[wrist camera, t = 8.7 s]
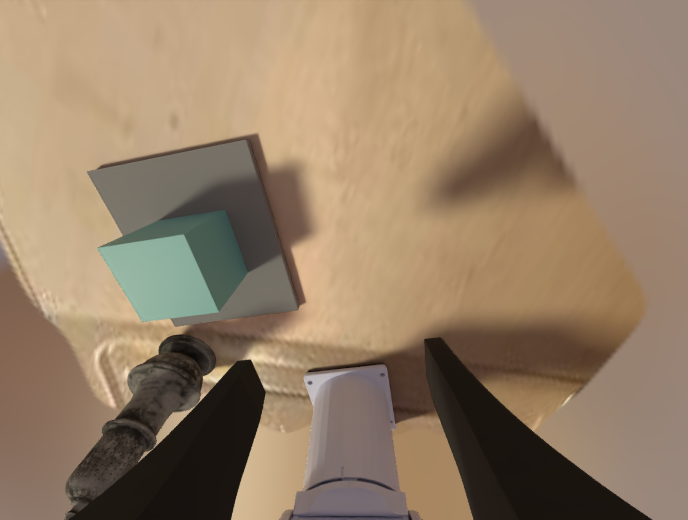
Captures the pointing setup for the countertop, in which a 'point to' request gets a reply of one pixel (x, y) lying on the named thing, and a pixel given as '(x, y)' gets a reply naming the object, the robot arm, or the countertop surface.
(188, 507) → the robot arm
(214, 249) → the teal cube
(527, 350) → the countertop surface
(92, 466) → the dark grey chess piece
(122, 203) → the charcoal mat
